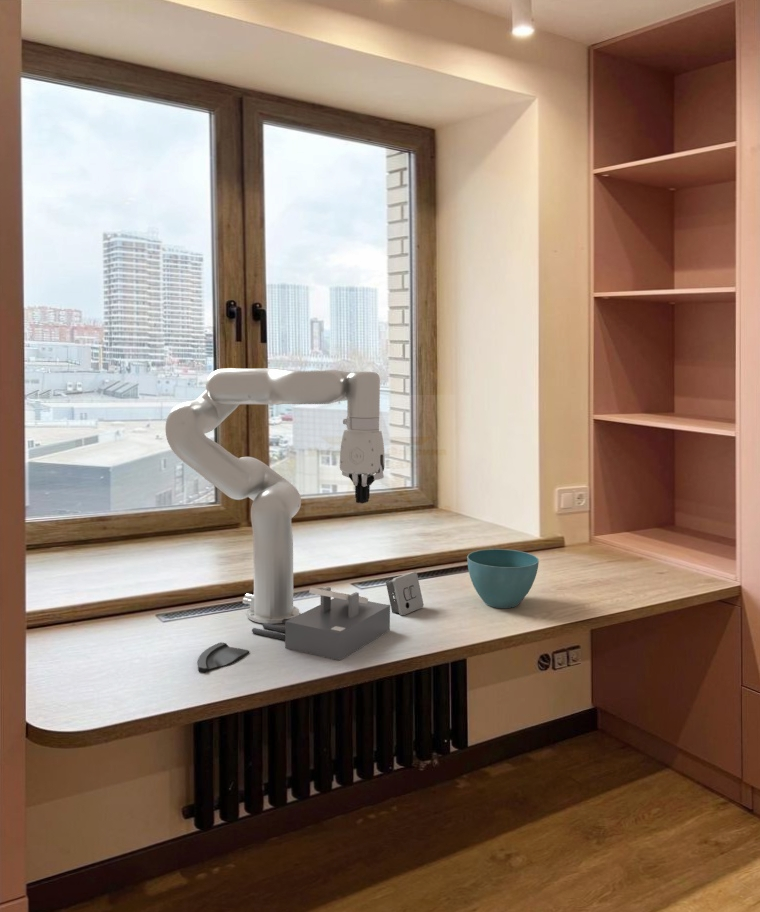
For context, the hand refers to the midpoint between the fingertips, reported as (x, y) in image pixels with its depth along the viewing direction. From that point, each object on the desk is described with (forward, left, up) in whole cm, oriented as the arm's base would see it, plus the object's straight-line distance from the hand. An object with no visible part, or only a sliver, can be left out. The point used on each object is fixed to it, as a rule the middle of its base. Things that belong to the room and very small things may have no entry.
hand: (362, 502), depth 192 cm
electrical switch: (+5, +13, -29) cm, 33 cm away
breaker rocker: (+2, -13, -19) cm, 23 cm away
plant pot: (+24, +31, -29) cm, 49 cm away
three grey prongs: (-11, -16, -29) cm, 35 cm away
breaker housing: (+2, -13, -29) cm, 32 cm away
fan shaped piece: (-14, -36, -30) cm, 49 cm away
